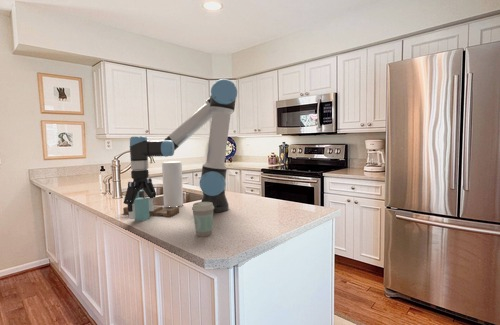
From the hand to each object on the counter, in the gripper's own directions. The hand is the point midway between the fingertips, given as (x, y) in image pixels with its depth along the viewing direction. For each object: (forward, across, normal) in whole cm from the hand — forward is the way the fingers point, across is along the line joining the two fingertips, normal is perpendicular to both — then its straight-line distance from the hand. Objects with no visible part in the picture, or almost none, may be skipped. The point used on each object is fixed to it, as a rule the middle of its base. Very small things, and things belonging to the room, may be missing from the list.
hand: (141, 214), depth 130 cm
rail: (+2, -11, -3) cm, 12 cm away
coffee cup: (+2, +13, +38) cm, 40 cm away
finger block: (+2, 0, 0) cm, 2 cm away
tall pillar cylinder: (+2, -29, -1) cm, 29 cm away
